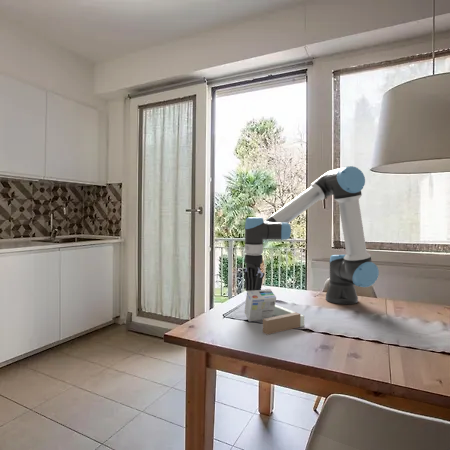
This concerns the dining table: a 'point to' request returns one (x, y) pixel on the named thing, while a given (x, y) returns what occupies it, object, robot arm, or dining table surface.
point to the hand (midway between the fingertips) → (252, 309)
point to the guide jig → (282, 320)
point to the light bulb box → (259, 304)
